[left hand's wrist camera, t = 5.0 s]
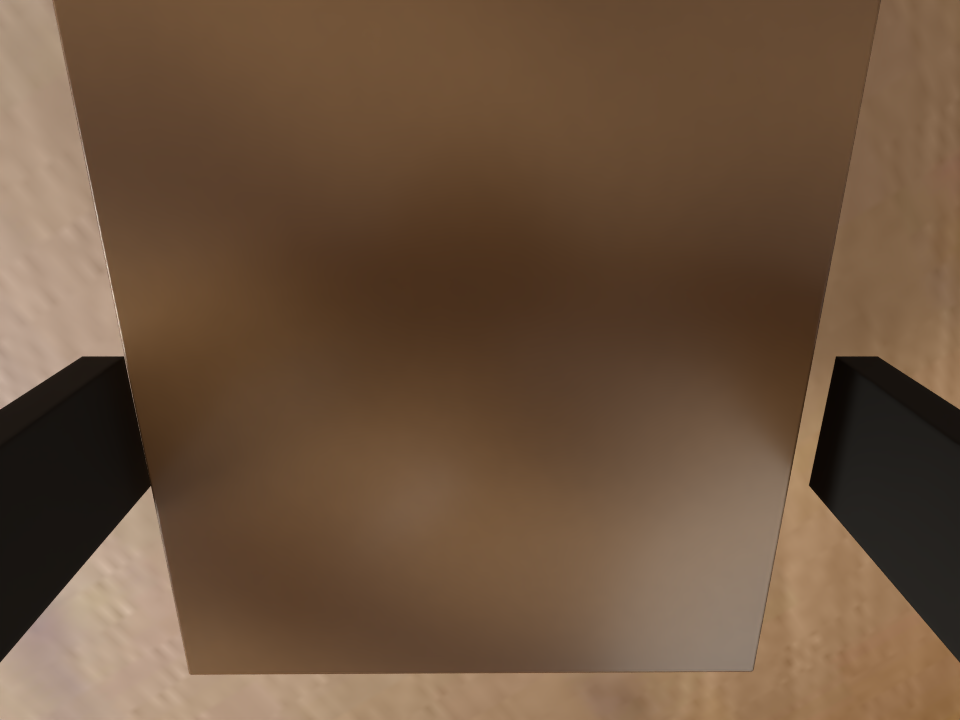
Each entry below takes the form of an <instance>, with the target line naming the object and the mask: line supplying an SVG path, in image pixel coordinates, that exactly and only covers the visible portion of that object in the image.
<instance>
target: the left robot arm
mask: <svg viewBox="0 0 960 720" xmlns="http://www.w3.org/2000/svg"><path fill="white" fill-rule="evenodd" d="M150 486H151V483H150V478H149V474H148V469H147V464H146V459H145V454H144V450H143V445H142V440H141V435H140V431H139V426H138V421H137V416H136V412H135V407H134V402H133V397H132V392H131V388H130V383H129V378H128V373H127V369H126V364H125V359H124V357H81V358H79V359H78V360H76V361H75V362H73V363H72V364H70V365H69V366H67V367H65V368H64V369H62V370H61V371H59V372H58V373H56V374H55V375H53V376H52V377H50V378H48V379H47V380H45V381H44V382H42V383H41V384H39V385H38V386H36V387H35V388H33V389H31V390H30V391H28V392H27V393H25V394H24V395H22V396H21V397H19V398H18V399H16V400H14V401H13V402H11V403H10V404H8V405H7V406H5V407H4V408H2V409H1V410H0V662H1V661H2V660H3V659H4V657H5V656H6V655H7V654H8V653H9V651H10V650H11V649H12V648H13V647H14V646H15V644H16V643H17V642H18V641H19V640H20V639H21V637H22V636H23V635H24V634H25V633H26V632H27V630H28V629H29V628H30V627H31V626H32V625H33V623H34V622H35V621H36V620H37V619H38V617H39V616H40V615H41V614H42V613H43V612H44V610H45V609H46V608H47V607H48V606H49V605H50V603H51V602H52V601H53V600H54V599H55V598H56V596H57V595H58V594H59V593H60V592H61V590H62V589H63V588H64V587H65V586H66V585H67V583H68V582H69V581H70V580H71V579H72V578H73V576H74V575H75V574H76V573H77V572H78V571H79V569H80V568H81V567H82V566H83V565H84V564H85V562H86V561H87V560H88V559H89V558H90V556H91V555H92V554H93V553H94V552H95V551H96V549H97V548H98V547H99V546H100V545H101V544H102V542H103V541H104V540H105V539H106V538H107V537H108V535H109V534H110V533H111V532H112V531H113V529H114V528H115V527H116V526H117V525H118V524H119V522H120V521H121V520H122V519H123V518H124V517H125V515H126V514H127V513H128V512H129V511H130V510H131V508H132V507H133V506H134V505H135V504H136V502H137V501H138V500H139V499H140V498H141V497H142V495H143V494H144V493H145V492H146V491H147V490H148V488H149V487H150ZM809 486H810V487H811V488H812V490H813V491H814V492H815V493H816V494H817V495H818V497H819V498H820V499H821V500H822V501H823V502H824V504H825V505H826V506H827V507H828V508H829V510H830V511H831V512H832V513H833V514H834V515H835V517H836V518H837V519H838V520H839V521H840V522H841V524H842V525H843V526H844V527H845V528H846V529H847V531H848V532H849V533H850V534H851V535H852V537H853V538H854V539H855V540H856V541H857V542H858V544H859V545H860V546H861V547H862V548H863V549H864V551H865V552H866V553H867V554H868V555H869V556H870V558H871V559H872V560H873V561H874V562H875V564H876V565H877V566H878V567H879V568H880V569H881V571H882V572H883V573H884V574H885V575H886V576H887V578H888V579H889V580H890V581H891V582H892V583H893V585H894V586H895V587H896V588H897V589H898V590H899V592H900V593H901V594H902V595H903V596H904V598H905V599H906V600H907V601H908V602H909V603H910V605H911V606H912V607H913V608H914V609H915V610H916V612H917V613H918V614H919V615H920V616H921V617H922V619H923V620H924V621H925V622H926V623H927V625H928V626H929V627H930V628H931V629H932V630H933V632H934V633H935V634H936V635H937V636H938V637H939V639H940V640H941V641H942V642H943V643H944V644H945V646H946V647H947V648H948V649H949V650H950V651H951V653H952V654H953V655H954V656H955V657H956V659H957V660H958V661H959V662H960V410H959V409H958V408H956V407H955V406H953V405H952V404H950V403H949V402H947V401H946V400H944V399H942V398H941V397H939V396H938V395H936V394H935V393H933V392H932V391H930V390H929V389H927V388H925V387H924V386H922V385H921V384H919V383H918V382H916V381H915V380H913V379H912V378H910V377H908V376H907V375H905V374H904V373H902V372H901V371H899V370H898V369H896V368H895V367H893V366H891V365H890V364H888V363H887V362H885V361H884V360H882V359H881V358H879V357H836V359H835V364H834V369H833V373H832V378H831V383H830V388H829V392H828V397H827V402H826V407H825V412H824V416H823V421H822V426H821V431H820V435H819V440H818V445H817V450H816V454H815V459H814V464H813V469H812V474H811V478H810V483H809Z"/></svg>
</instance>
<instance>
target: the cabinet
mask: <svg viewBox="0 0 960 720" xmlns="http://www.w3.org/2000/svg"><path fill="white" fill-rule="evenodd" d="M880 2H881V0H53V5H54V10H55V15H56V20H57V25H58V30H59V35H60V40H61V45H62V49H63V54H64V59H65V64H66V69H67V74H68V79H69V84H70V89H71V94H72V99H73V104H74V109H75V113H76V118H77V123H78V128H79V133H80V138H81V143H82V148H83V153H84V158H85V163H86V168H87V173H88V178H89V182H90V187H91V192H92V197H93V202H94V207H95V212H96V217H97V222H98V227H99V232H100V237H101V242H102V246H103V251H104V256H105V261H106V266H107V271H108V276H109V281H110V286H111V291H112V296H113V301H114V306H115V310H116V315H117V320H118V325H119V330H120V335H121V340H122V345H123V350H124V355H125V360H126V365H127V370H128V375H129V379H130V384H131V389H132V394H133V399H134V404H135V409H136V414H137V419H138V424H139V429H140V434H141V439H142V443H143V448H144V453H145V458H146V463H147V468H148V473H149V478H150V483H151V488H152V493H153V498H154V503H155V508H156V512H157V517H158V522H159V527H160V532H161V537H162V542H163V547H164V552H165V557H166V562H167V567H168V572H169V576H170V581H171V586H172V591H173V596H174V601H175V606H176V611H177V616H178V621H179V626H180V631H181V636H182V640H183V645H184V650H185V655H186V660H187V665H188V670H189V674H191V675H209V674H399V673H590V672H751V671H753V669H754V664H755V659H756V654H757V648H758V643H759V638H760V632H761V627H762V622H763V617H764V611H765V606H766V601H767V596H768V590H769V585H770V580H771V575H772V569H773V564H774V559H775V554H776V548H777V543H778V538H779V533H780V527H781V522H782V517H783V512H784V506H785V501H786V496H787V491H788V485H789V480H790V475H791V470H792V464H793V459H794V454H795V449H796V443H797V438H798V433H799V428H800V422H801V417H802V412H803V407H804V401H805V396H806V391H807V386H808V380H809V375H810V370H811V365H812V359H813V354H814V349H815V343H816V338H817V333H818V328H819V322H820V317H821V312H822V307H823V301H824V296H825V291H826V286H827V280H828V275H829V270H830V265H831V259H832V254H833V249H834V244H835V238H836V233H837V228H838V223H839V217H840V212H841V207H842V202H843V196H844V191H845V186H846V181H847V175H848V170H849V165H850V160H851V154H852V149H853V144H854V139H855V133H856V128H857V123H858V118H859V112H860V107H861V102H862V97H863V91H864V86H865V81H866V76H867V70H868V65H869V60H870V54H871V49H872V44H873V39H874V33H875V28H876V23H877V18H878V12H879V7H880Z"/></svg>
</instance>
